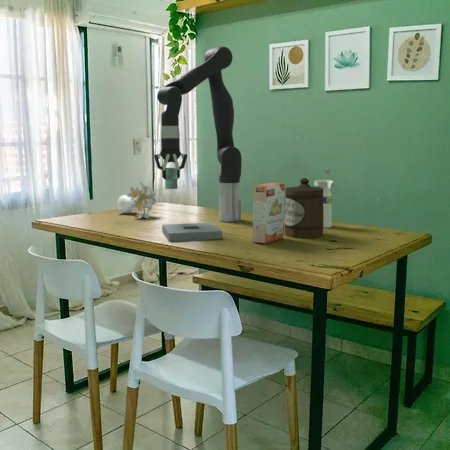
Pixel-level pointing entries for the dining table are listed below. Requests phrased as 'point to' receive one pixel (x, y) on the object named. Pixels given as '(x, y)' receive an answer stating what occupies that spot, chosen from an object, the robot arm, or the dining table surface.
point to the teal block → (171, 178)
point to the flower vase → (137, 200)
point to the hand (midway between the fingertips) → (171, 179)
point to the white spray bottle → (326, 199)
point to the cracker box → (268, 212)
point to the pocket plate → (191, 231)
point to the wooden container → (304, 211)
